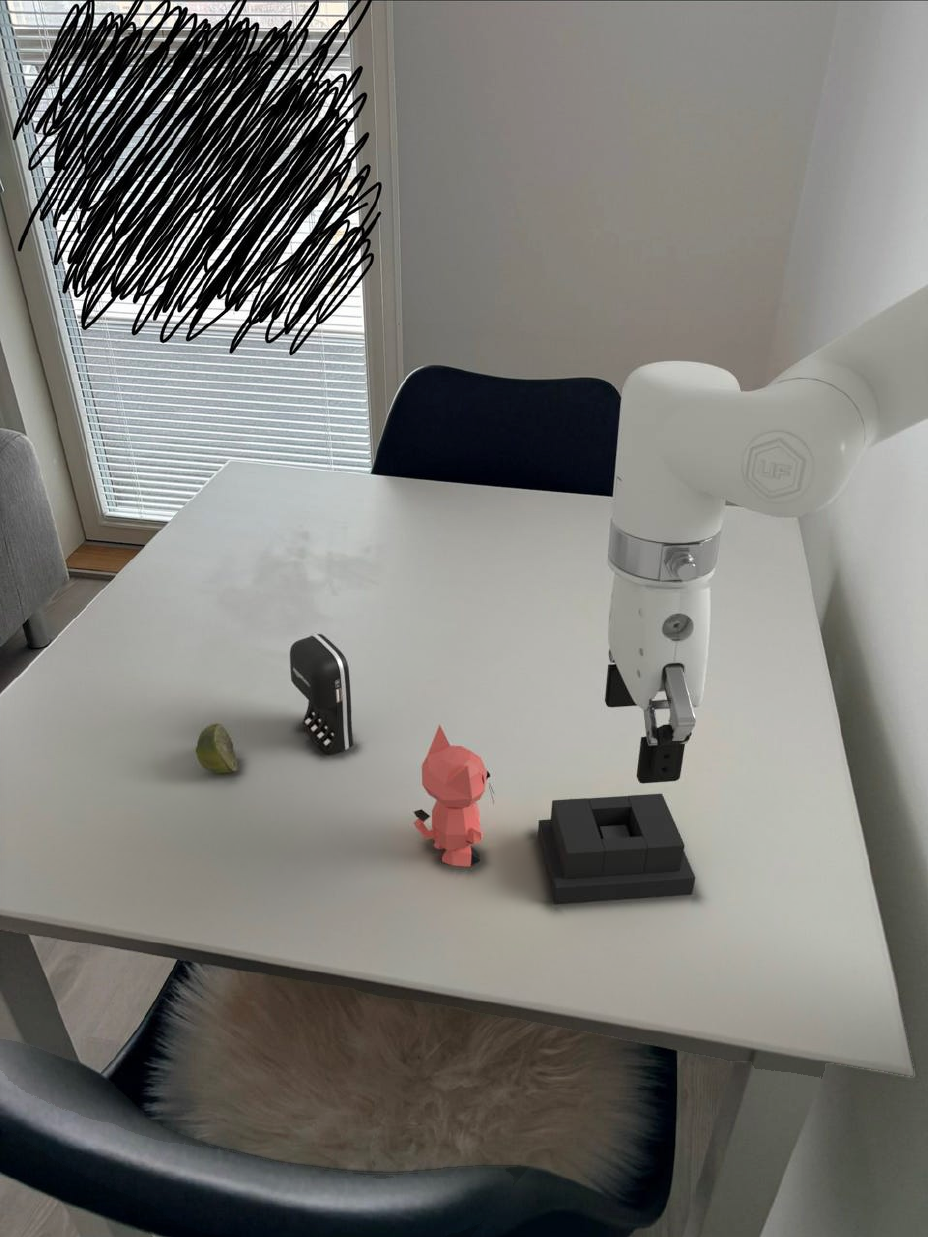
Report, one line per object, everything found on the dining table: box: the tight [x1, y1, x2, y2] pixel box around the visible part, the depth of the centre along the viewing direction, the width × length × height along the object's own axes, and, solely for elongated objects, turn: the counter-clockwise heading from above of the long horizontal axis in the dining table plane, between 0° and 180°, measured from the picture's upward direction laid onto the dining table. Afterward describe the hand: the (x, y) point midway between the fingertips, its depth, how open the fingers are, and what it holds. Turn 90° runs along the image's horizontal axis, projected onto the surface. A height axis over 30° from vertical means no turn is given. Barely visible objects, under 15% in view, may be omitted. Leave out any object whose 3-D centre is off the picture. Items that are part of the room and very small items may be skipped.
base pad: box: [537, 818, 696, 905], centre depth 77 cm, size 12×8×4 cm, turn 96°
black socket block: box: [550, 793, 686, 879], centre depth 76 cm, size 10×6×3 cm, turn 96°
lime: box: [195, 723, 238, 774], centre depth 86 cm, size 4×5×5 cm
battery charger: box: [289, 633, 354, 754], centre depth 89 cm, size 7×4×11 cm, turn 36°
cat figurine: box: [413, 723, 495, 868], centre depth 76 cm, size 7×7×12 cm
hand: (639, 740), depth 70 cm, fingers open, 9 cm apart
